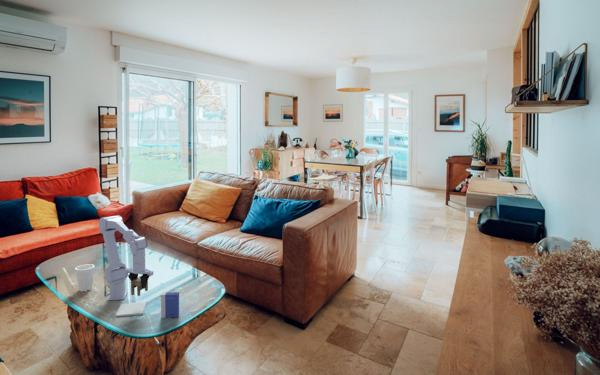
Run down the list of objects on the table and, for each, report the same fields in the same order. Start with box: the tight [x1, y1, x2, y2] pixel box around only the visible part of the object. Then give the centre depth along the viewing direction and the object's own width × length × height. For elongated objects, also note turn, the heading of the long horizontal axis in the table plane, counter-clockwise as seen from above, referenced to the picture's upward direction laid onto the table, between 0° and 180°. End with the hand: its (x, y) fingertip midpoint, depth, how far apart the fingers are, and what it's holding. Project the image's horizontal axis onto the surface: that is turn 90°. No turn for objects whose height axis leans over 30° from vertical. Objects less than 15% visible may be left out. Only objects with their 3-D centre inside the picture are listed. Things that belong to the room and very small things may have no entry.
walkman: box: [160, 291, 180, 319], centre depth 167 cm, size 8×3×12 cm, turn 96°
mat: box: [115, 301, 148, 318], centre depth 173 cm, size 12×12×1 cm
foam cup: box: [74, 263, 96, 292], centre depth 193 cm, size 10×9×13 cm
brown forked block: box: [130, 276, 149, 297], centre depth 174 cm, size 4×7×7 cm, turn 169°
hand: (139, 287), depth 175 cm, fingers closed on brown forked block, 4 cm apart
